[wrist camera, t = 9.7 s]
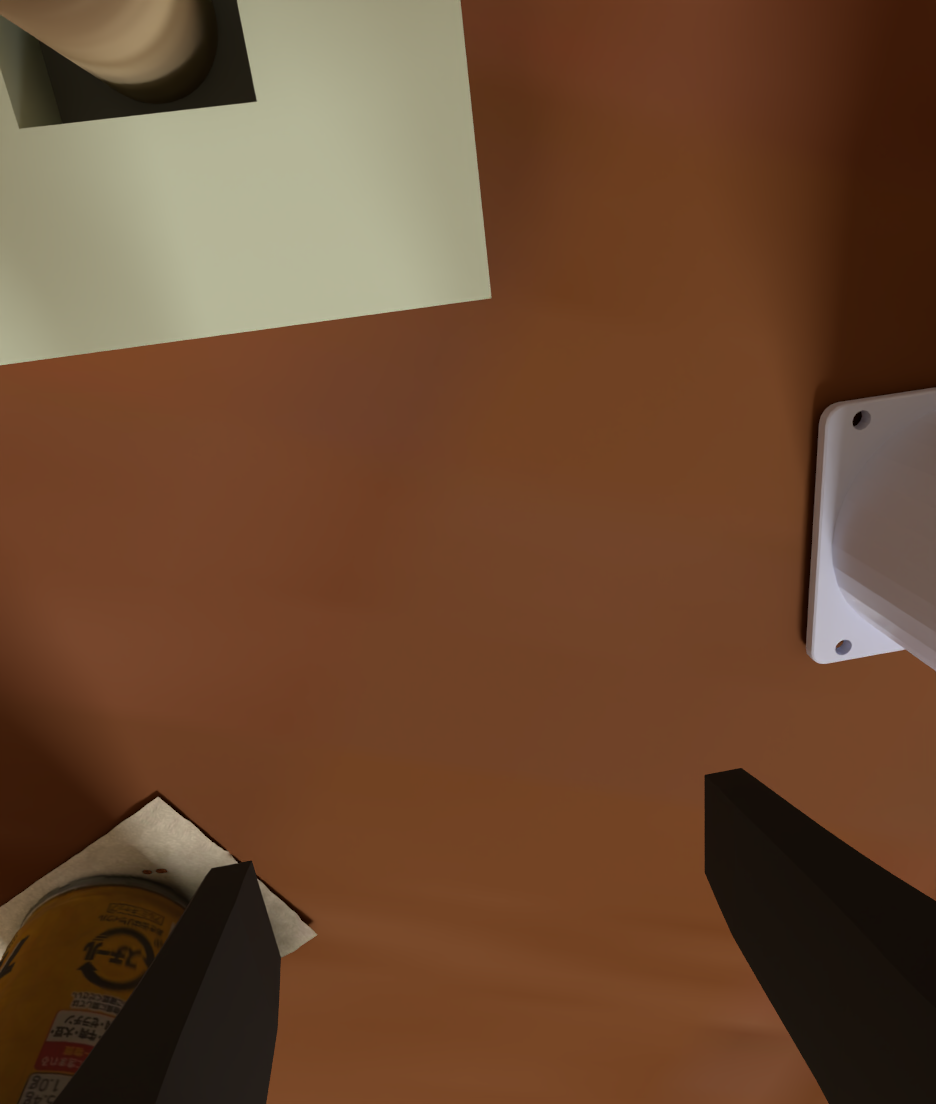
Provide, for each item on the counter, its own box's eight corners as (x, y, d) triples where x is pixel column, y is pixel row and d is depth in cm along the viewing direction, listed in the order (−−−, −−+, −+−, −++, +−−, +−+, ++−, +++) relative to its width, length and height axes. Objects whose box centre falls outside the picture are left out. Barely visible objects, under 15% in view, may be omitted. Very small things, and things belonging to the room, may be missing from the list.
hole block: (393, -401, 13) (400, -575, 11) (472, 293, 18) (491, 298, 15) (-306, -354, 13) (-499, -531, 10) (-39, 362, 17) (-119, 381, 14)
